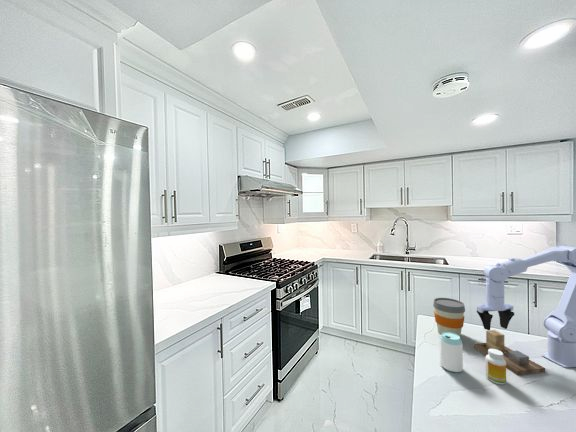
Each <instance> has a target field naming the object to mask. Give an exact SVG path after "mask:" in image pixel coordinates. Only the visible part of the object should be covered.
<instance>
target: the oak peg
mask: <svg viewBox="0 0 576 432" xmlns="http://www.w3.org/2000/svg"><path fill="white" fill-rule="evenodd" d="M485 332H486V333H485V334H486V336H485V338H486V339H485V340H486V341H485V343H486V348H487V349H496V350H499V351H501V352H502V353H505V351H504V346H505V334H504V333H501V332H499V331H497V330H496V329H490V330H486V331H485Z"/></svg>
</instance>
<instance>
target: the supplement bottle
mask: <svg viewBox="0 0 576 432" xmlns="http://www.w3.org/2000/svg"><path fill="white" fill-rule="evenodd" d="M485 377H486V379H487V380H488V381H490V382H492V383H493V384H497V385H505V384H507V368H506V361H505V360H504V359H503V353H502V352H501V351H499V350H496V349H488V355H485Z"/></svg>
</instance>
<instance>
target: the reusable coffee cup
mask: <svg viewBox="0 0 576 432" xmlns="http://www.w3.org/2000/svg"><path fill="white" fill-rule="evenodd" d="M432 304H433V308H434V311H433V314H434V321H435V323H436V328H437V333H438V334H439V335H440V336H441V335H442V333H443V332H451V333H454V334H457V335H458V336H459V337H460V338H461V335H462V328H463V327H464V323H465V312H466V307H465V304H464V302H462V301H460V300H458V299H454V298H450V297H449V298H448V297H436V298H434V299H433V303H432Z"/></svg>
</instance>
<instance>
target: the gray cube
mask: <svg viewBox="0 0 576 432" xmlns="http://www.w3.org/2000/svg"><path fill="white" fill-rule="evenodd" d="M508 359H509V360H510V361H512V362H514V363H515V364H517V365H519V366H521V365H529V360H530V356H529V355H527V354H525V353H523V352H521V351H519V350H513V351H508Z"/></svg>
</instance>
